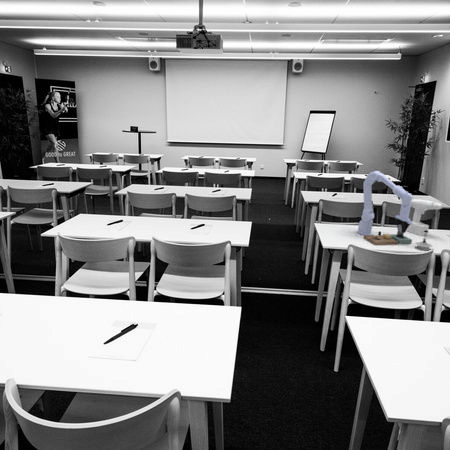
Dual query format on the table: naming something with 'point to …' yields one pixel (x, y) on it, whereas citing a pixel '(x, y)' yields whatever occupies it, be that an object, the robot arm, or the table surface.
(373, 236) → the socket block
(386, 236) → the release key
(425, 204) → the power drill
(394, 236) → the rack
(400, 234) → the steel peg
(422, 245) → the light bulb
